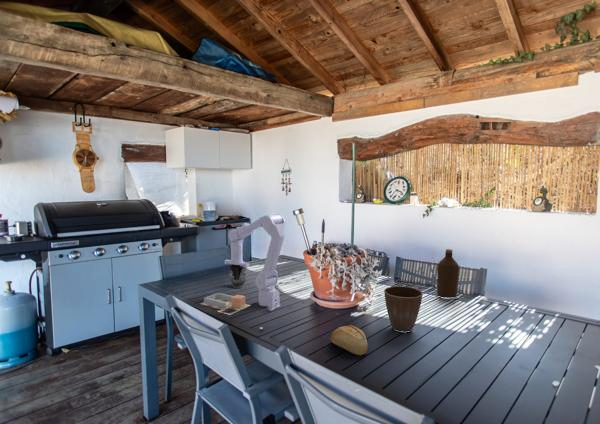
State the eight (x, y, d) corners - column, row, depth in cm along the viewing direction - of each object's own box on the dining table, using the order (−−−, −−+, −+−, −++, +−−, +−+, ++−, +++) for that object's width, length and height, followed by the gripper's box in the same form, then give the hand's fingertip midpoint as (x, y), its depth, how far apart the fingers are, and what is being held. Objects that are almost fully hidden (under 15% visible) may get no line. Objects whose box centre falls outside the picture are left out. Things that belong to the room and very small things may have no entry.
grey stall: (238, 302, 177) (238, 297, 177) (224, 308, 169) (224, 302, 168) (218, 297, 183) (217, 292, 183) (203, 303, 175) (203, 297, 175)
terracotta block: (245, 305, 173) (245, 295, 172) (240, 308, 169) (240, 298, 168) (236, 304, 174) (236, 294, 174) (231, 307, 170) (231, 297, 170)
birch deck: (251, 308, 173) (251, 305, 173) (229, 318, 161) (229, 314, 161) (216, 300, 184) (216, 297, 184) (194, 308, 172) (194, 305, 172)
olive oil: (451, 301, 186) (453, 252, 184) (431, 296, 195) (434, 249, 192) (461, 297, 193) (464, 250, 191) (442, 292, 201) (444, 247, 199)
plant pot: (394, 339, 142) (396, 298, 140) (376, 324, 156) (377, 287, 155) (428, 335, 146) (430, 296, 144) (407, 321, 160) (409, 285, 159)
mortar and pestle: (236, 290, 201) (236, 268, 199) (226, 286, 207) (225, 265, 206) (252, 285, 209) (252, 265, 208) (242, 282, 215) (242, 262, 214)
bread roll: (340, 338, 143) (341, 318, 142) (374, 351, 132) (375, 329, 132) (324, 346, 136) (325, 325, 135) (358, 360, 126) (359, 337, 125)
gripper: (253, 253, 186) (253, 279, 187) (231, 250, 193) (231, 275, 194) (244, 255, 180) (244, 283, 181) (221, 252, 187) (221, 278, 188)
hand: (236, 279), depth 187 cm, fingers closed
